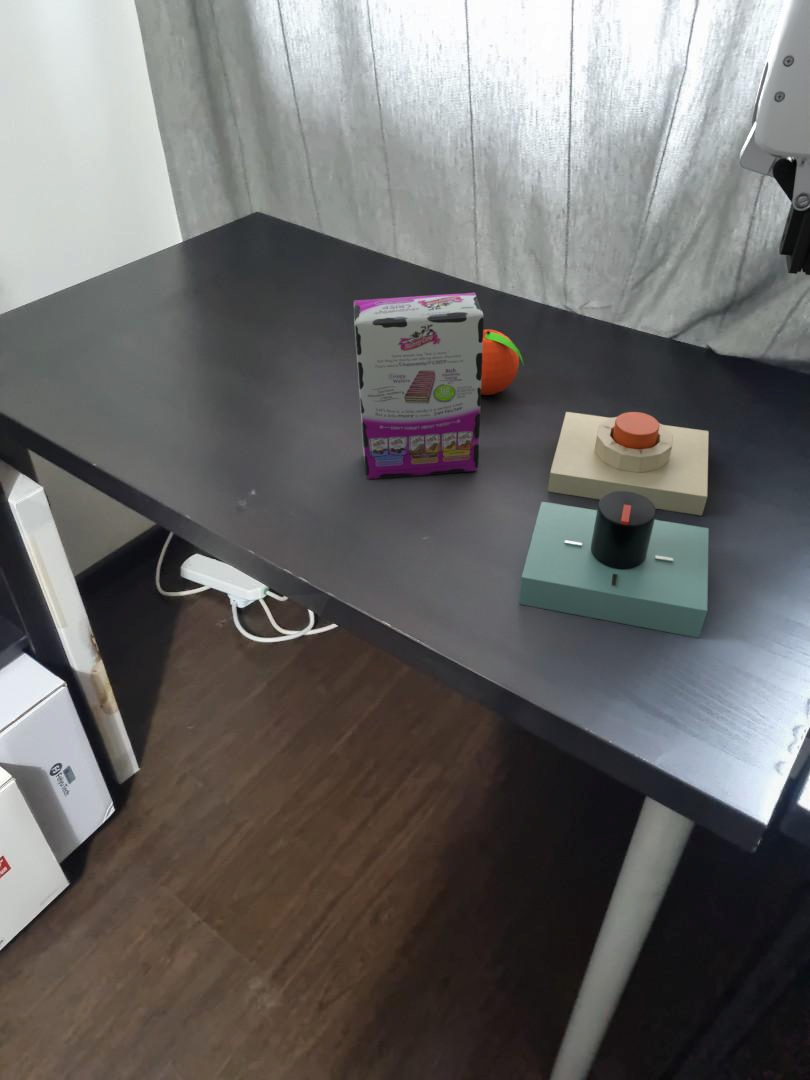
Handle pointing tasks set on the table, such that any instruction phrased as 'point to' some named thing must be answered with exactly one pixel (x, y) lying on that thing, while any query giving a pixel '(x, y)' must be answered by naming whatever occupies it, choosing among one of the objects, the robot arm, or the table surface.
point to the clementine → (498, 362)
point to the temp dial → (622, 529)
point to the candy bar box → (419, 383)
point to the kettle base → (631, 464)
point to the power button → (636, 430)
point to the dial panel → (617, 574)
